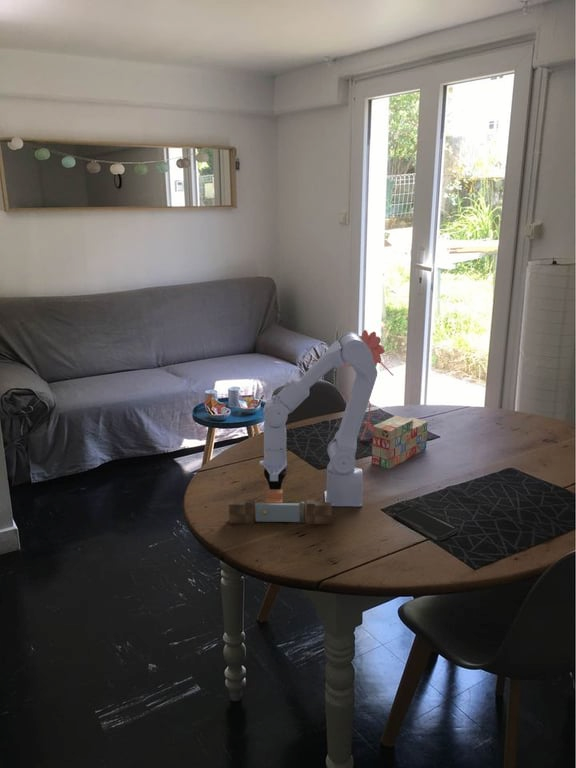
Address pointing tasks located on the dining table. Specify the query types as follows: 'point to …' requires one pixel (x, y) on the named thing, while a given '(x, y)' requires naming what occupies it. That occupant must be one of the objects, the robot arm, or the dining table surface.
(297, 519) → the door
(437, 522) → the phone
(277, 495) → the orange block
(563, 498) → the dining table surface
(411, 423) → the stack of blocks
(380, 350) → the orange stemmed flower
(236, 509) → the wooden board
